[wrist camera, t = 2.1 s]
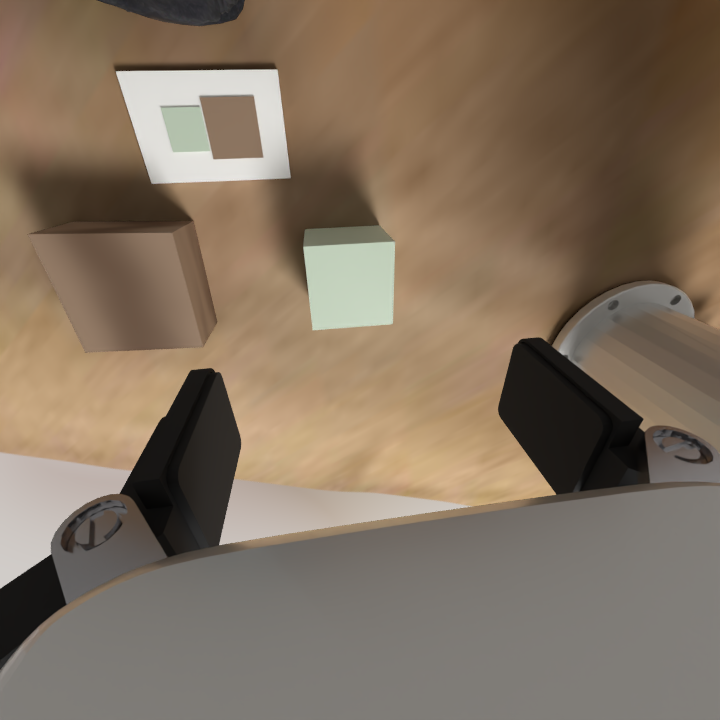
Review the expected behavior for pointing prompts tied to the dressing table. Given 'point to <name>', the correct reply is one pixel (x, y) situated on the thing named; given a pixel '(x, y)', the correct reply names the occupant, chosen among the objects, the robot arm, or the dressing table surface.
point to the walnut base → (129, 283)
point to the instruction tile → (208, 124)
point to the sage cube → (349, 276)
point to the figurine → (183, 10)
